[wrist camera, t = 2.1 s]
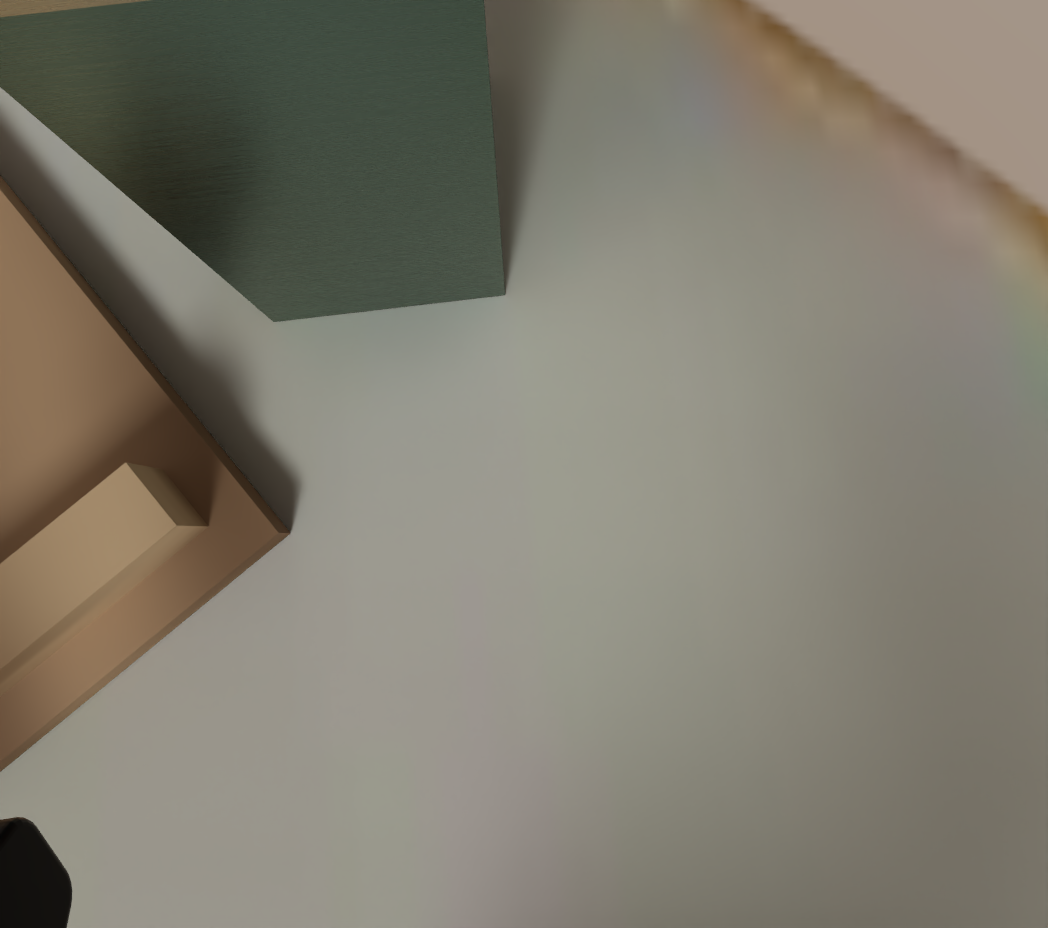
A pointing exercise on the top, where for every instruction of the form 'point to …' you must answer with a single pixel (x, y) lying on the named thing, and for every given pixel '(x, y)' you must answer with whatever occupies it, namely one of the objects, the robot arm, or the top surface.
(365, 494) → the top surface
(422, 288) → the tea tin
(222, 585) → the wooden square frame
